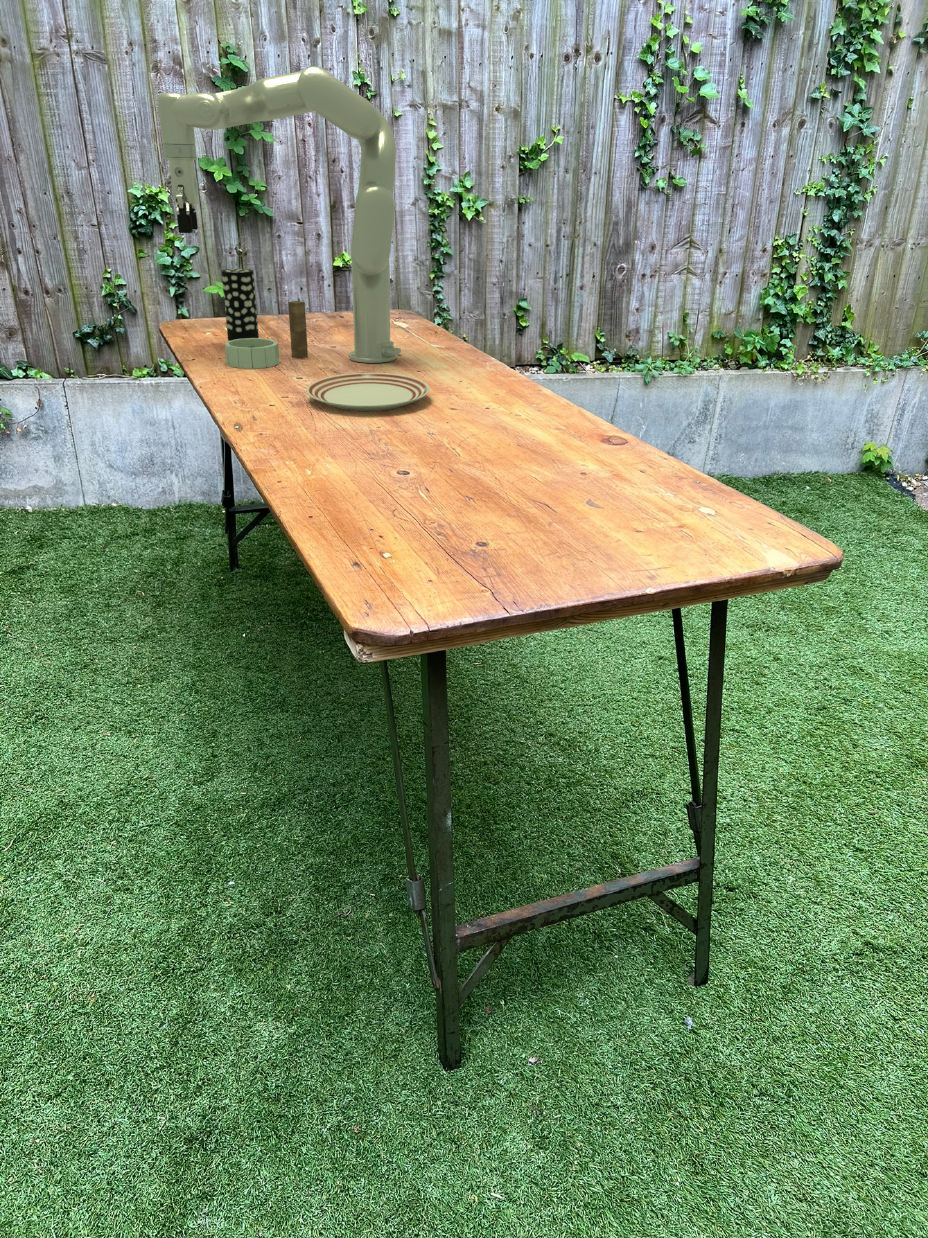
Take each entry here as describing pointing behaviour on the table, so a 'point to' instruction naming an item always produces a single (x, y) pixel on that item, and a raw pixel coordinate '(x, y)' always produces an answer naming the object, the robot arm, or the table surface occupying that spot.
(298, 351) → the wooden rectangular post
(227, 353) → the green faceted socket ring
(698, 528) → the table surface
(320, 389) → the dinner plate
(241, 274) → the white-spotted black cylinder
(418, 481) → the table surface
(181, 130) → the robot arm
